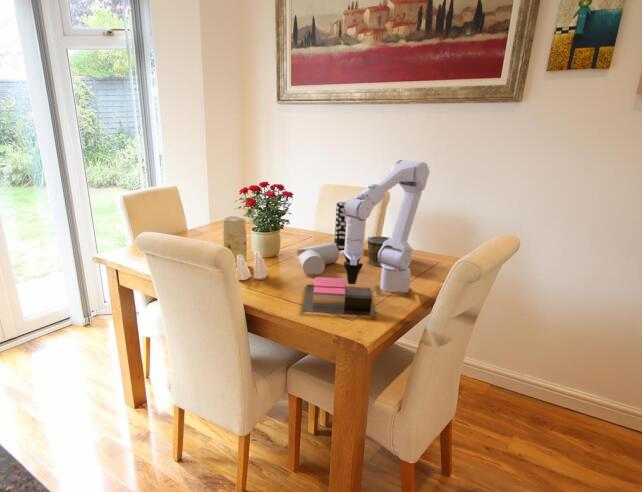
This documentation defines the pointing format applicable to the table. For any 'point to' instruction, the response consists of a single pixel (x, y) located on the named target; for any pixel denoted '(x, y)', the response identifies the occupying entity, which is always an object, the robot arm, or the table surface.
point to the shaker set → (259, 267)
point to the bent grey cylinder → (317, 257)
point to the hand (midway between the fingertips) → (351, 279)
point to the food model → (235, 236)
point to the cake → (330, 282)
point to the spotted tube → (340, 227)
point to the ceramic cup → (375, 248)
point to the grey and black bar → (346, 303)
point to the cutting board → (348, 290)
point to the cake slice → (329, 293)
